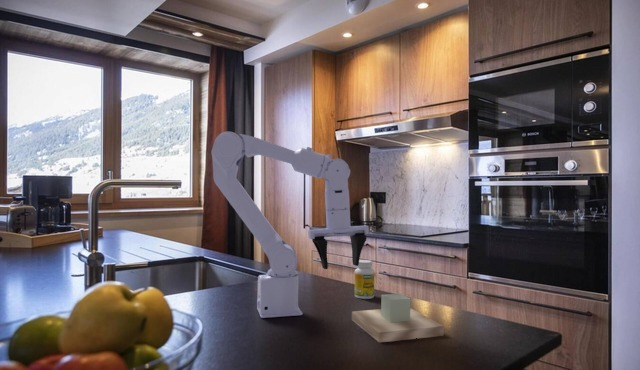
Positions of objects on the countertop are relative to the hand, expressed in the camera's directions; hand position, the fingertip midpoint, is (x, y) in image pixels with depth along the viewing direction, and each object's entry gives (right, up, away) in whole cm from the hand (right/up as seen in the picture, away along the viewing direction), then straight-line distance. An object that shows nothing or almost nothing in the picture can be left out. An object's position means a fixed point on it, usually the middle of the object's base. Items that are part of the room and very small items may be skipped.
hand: (340, 266), depth 98 cm
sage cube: (+11, -9, -11) cm, 18 cm away
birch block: (+11, -11, -11) cm, 19 cm away
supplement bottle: (+7, -11, +14) cm, 19 cm away
